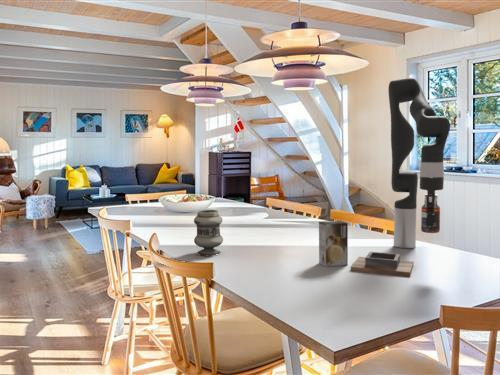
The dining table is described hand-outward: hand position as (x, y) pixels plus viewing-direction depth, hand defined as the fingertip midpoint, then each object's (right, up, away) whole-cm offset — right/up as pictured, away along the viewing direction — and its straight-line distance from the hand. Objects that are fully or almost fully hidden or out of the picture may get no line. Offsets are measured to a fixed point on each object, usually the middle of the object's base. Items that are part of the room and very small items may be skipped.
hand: (430, 224), depth 157 cm
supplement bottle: (0, -3, 0) cm, 3 cm away
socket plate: (-14, -17, +9) cm, 24 cm away
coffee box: (-31, -16, +16) cm, 38 cm away
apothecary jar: (-79, -15, +34) cm, 88 cm away
